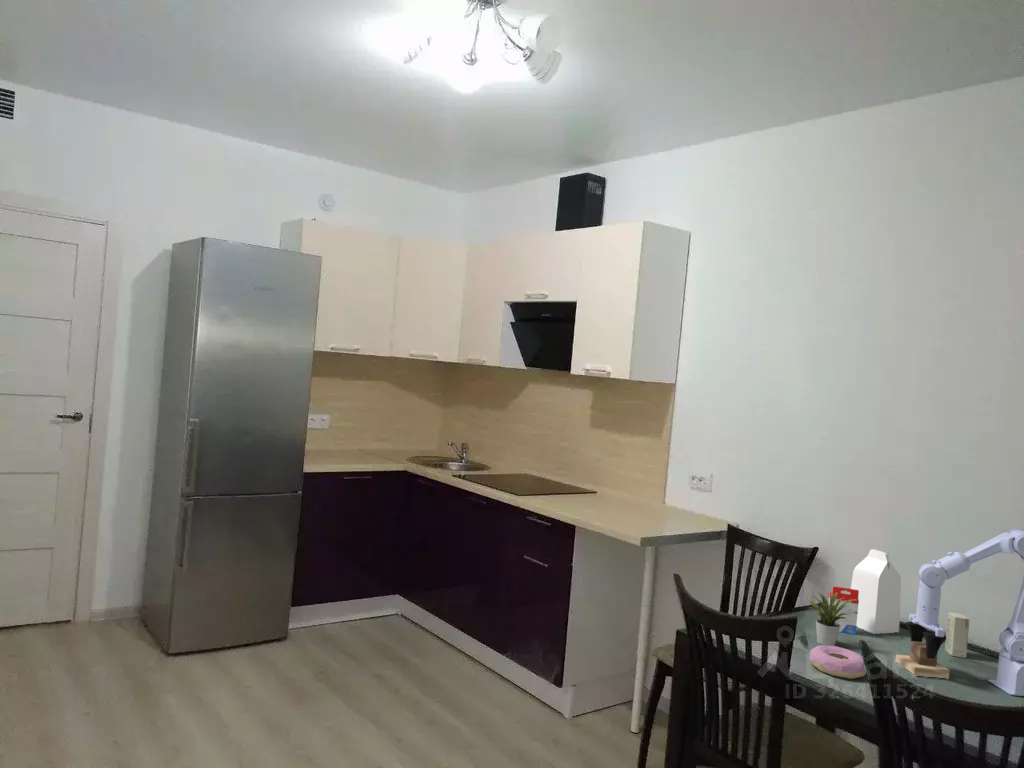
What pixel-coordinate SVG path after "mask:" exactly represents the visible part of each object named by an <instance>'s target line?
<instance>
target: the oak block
mask: <svg viewBox="0 0 1024 768" xmlns="http://www.w3.org/2000/svg"><path fill="white" fill-rule="evenodd" d="M895 662H897V663H899V664H901V665H902V666H903V667H905V668H906V669H908V670H909V671H910V672H912V673H913V674H914V675H919V676H927V677H939V678H946V679H945V680H949V679H950V672H951V671H950V669H948V668H947V667H945V666H944V665H942V664H940V663H939V662H937V664H936V666H929V665H919V664H917V663H916V662H915V661H913V660H912V659H911V658H910V655H906V654H895ZM927 677H926V678H927Z"/></svg>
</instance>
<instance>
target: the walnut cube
mask: <svg viewBox="0 0 1024 768" xmlns="http://www.w3.org/2000/svg"><path fill="white" fill-rule="evenodd" d="M910 643H911V644H910V653H909V654H910V655H909V656H910V658H911V659H912V660H913V661H915V662H916V663H917V664H919V665H929V666H936V664H937V663H938V654H939V653H938V652H939V651H938V652H937V655H936V657H935V659H933V658H927V656H926V641H925V642H924V641H922V642H916V641H911V640H910Z"/></svg>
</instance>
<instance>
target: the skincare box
mask: <svg viewBox="0 0 1024 768" xmlns="http://www.w3.org/2000/svg"><path fill="white" fill-rule="evenodd" d="M970 621H971V620H970V618H969V617H968V616H967V615H964V614H963V613H957V612H952V611H951V612H950V611H949V612H947V621H946V622H947V623H946V631H945V633H946V634H945V636H946V640H945V641H944V643H945V644H944V650H945V652H947V654H949V655H950V656H953V657H958V658H963V659H966V658H967V654H968V653H967V650H968V640H969V632H970V631H969V629H970Z"/></svg>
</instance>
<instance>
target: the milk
mask: <svg viewBox="0 0 1024 768" xmlns="http://www.w3.org/2000/svg"><path fill="white" fill-rule="evenodd" d="M850 589H855V590H859V595H858V600H859V604H858V614H857V624H856V626H857V627H856V628H858V629H862V630H863V629H864V631H866V632H868V633H870V634H873V635H876V634H877V635H879V634H880V633H881V634H895V632H897V633H900V615H901V593H902V591H901V590H902V577H901V574H900V573H899V571H898V570H897V569H896V567H894V565H893V563H891V560H890V556H889V553H888V552H884V551H881V550H878V549H875V548H873V549H872V548H871V549H870V550H869V552H868V553H867V556H866V557H865V558H863V560H861V561H860V562H859V563H858V564H857V565H856V566H855V567H854V569H853V572H852V578H851V584H850Z"/></svg>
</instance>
